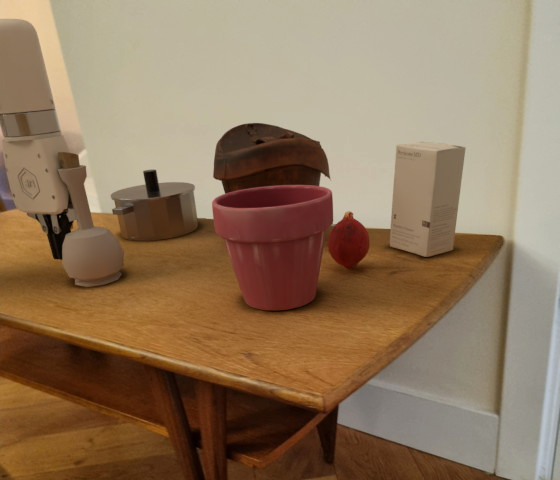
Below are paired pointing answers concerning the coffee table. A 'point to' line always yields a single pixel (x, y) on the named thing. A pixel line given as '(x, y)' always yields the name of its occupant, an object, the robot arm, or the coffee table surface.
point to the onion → (348, 241)
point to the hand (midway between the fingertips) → (65, 256)
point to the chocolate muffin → (267, 158)
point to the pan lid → (152, 190)
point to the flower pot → (275, 241)
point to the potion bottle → (87, 234)
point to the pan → (157, 218)
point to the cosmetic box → (426, 197)
